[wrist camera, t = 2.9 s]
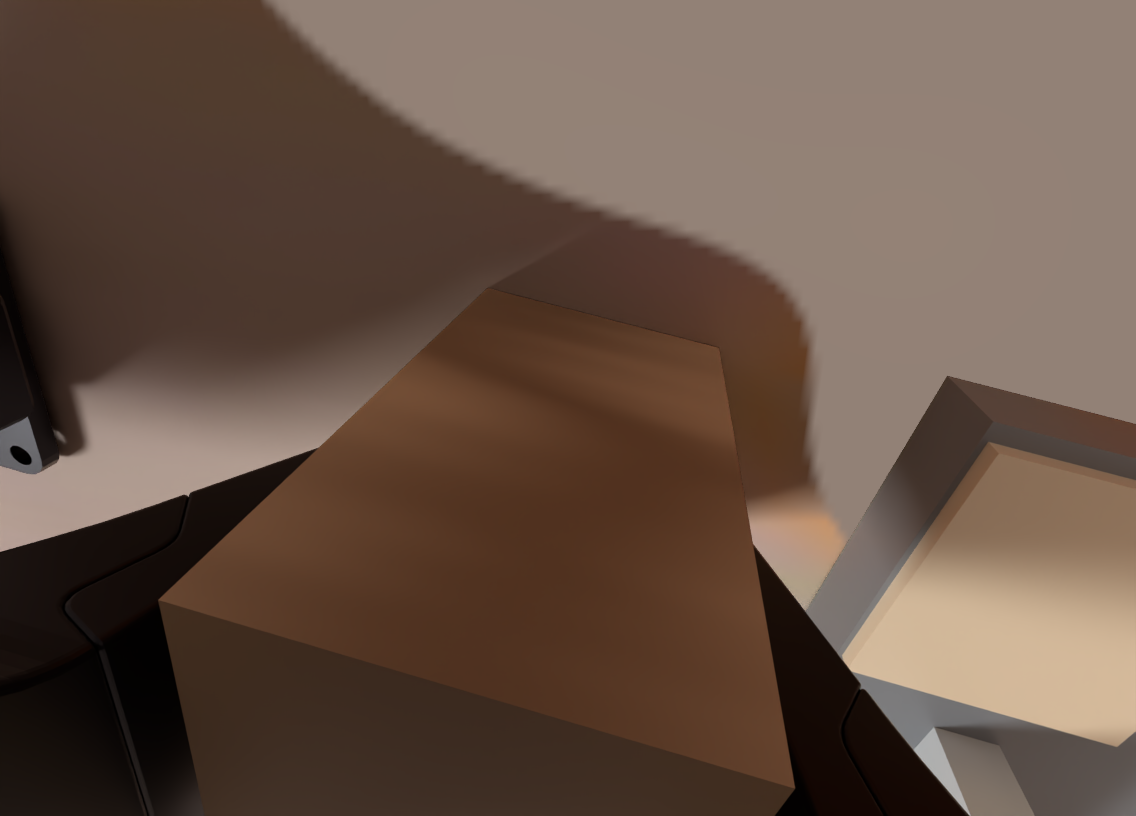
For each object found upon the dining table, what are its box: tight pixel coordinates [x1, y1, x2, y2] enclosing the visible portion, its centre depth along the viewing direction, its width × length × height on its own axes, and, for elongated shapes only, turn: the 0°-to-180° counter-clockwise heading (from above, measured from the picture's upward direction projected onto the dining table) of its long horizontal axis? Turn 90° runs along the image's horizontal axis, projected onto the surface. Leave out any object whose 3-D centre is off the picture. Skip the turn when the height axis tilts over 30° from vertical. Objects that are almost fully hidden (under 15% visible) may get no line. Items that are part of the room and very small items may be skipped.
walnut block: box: [158, 288, 795, 816], centre depth 7 cm, size 4×4×7 cm
